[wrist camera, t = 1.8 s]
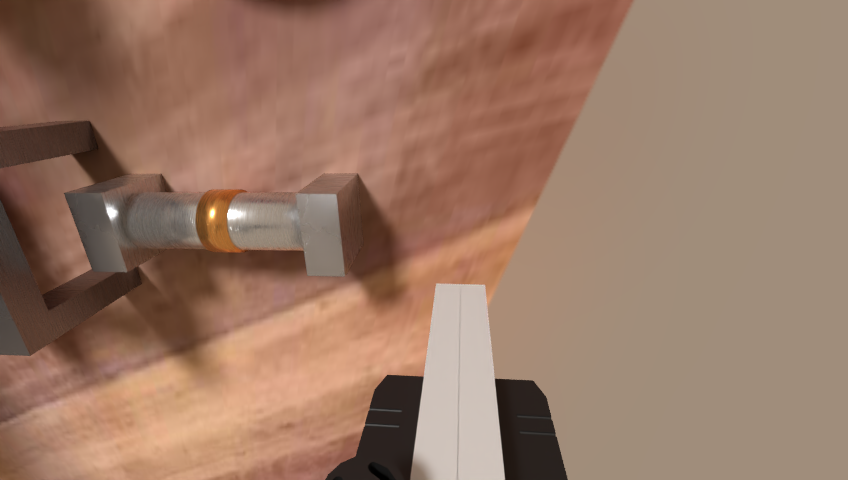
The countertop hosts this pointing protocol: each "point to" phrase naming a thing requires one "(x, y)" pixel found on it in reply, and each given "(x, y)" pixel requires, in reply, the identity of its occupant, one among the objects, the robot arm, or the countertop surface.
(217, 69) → the countertop surface
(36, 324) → the collar rail
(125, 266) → the tube
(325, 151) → the countertop surface
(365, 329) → the countertop surface
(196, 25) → the countertop surface
